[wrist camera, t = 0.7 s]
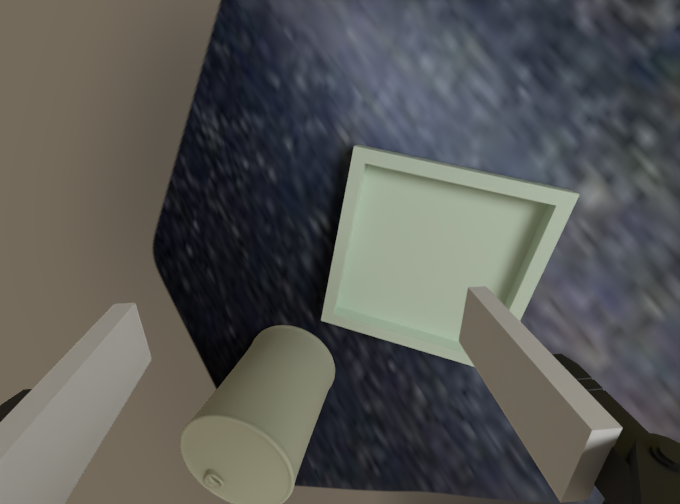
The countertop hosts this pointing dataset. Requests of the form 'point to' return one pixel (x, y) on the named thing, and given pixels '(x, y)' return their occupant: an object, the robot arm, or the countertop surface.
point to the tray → (436, 246)
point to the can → (260, 418)
